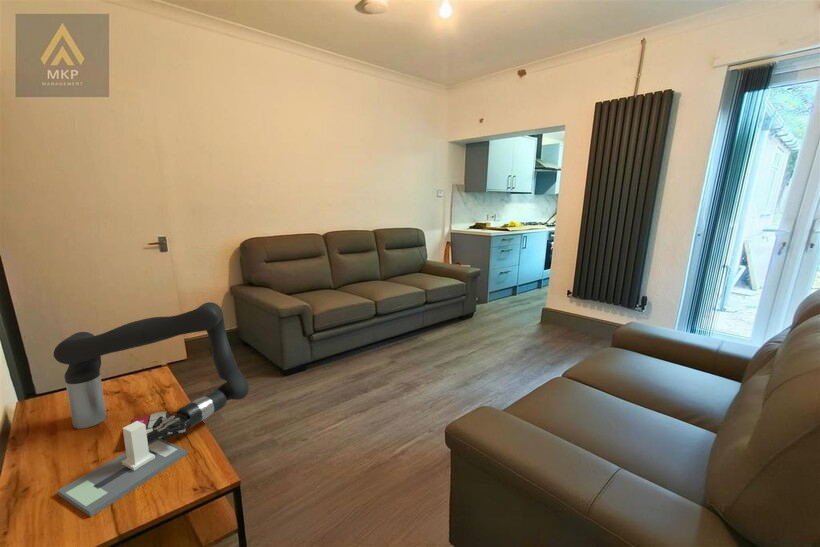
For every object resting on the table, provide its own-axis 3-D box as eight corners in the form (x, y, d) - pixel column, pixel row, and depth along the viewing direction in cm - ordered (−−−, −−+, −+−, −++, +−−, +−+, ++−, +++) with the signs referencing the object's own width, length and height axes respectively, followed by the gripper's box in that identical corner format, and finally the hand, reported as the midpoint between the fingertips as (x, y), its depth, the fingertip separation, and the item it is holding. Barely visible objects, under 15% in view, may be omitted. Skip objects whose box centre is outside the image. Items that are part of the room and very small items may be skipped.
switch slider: (122, 464, 109) (116, 429, 107) (143, 451, 114) (138, 418, 112) (134, 470, 107) (129, 434, 104) (155, 457, 112) (150, 423, 110)
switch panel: (58, 495, 99) (57, 490, 99) (155, 439, 123) (155, 435, 122) (90, 517, 93) (90, 512, 93) (187, 454, 117) (186, 450, 116)
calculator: (167, 409, 135) (164, 430, 122) (169, 419, 135) (165, 441, 123) (131, 417, 129) (123, 439, 116) (132, 428, 130) (125, 451, 117)
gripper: (182, 397, 129) (128, 424, 113) (208, 407, 123) (155, 436, 108) (184, 416, 130) (131, 445, 115) (209, 426, 125) (158, 458, 109)
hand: (143, 440), depth 111 cm, fingers closed
